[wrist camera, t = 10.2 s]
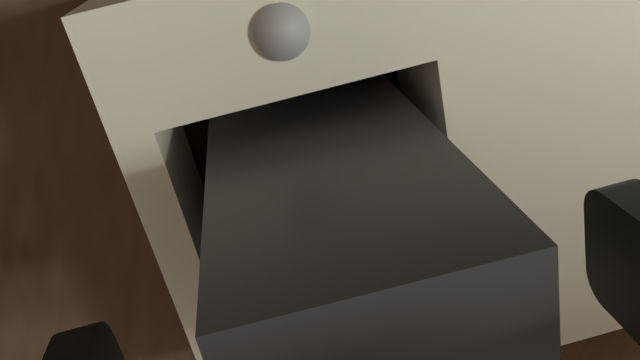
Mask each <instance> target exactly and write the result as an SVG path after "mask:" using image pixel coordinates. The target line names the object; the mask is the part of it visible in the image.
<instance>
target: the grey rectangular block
mask: <svg viewBox="0 0 640 360" xmlns="http://www.w3.org/2000/svg"><path fill="white" fill-rule="evenodd" d="M195 339H196V342H197V345H198V347H199V350H200V353H201V356H202V359H203V360H561V340H560V304H559V267H558V245H557V244H556V243H555V242H554V241H553V240H552V239H551V238H550V237H549V236H548V235H546V234H545V233H544V232H543V231H542V230H541V229H540V228H539V227H538V226H537V225H536V224H535V223H534V222H533V221H532V220H531V219H530V218H529V217H528V216H527V215H526V214H525V213H524V212H523V211H522V210H521V209H520V208H519V207H518V206H517V205H516V204H515V203H514V202H513V201H512V200H511V199H510V198H509V197H508V196H507V195H506V194H504V193H503V192H502V191H501V190H500V189H499V188H498V187H497V186H496V185H495V184H494V183H493V182H492V181H491V180H490V179H489V178H488V177H487V176H486V175H485V174H484V173H483V172H482V171H481V170H480V169H479V168H478V167H477V166H476V165H475V164H474V163H473V162H472V161H471V160H470V159H469V158H468V157H467V156H466V155H465V154H463V153H462V152H461V151H460V150H459V149H458V148H457V147H456V146H455V145H454V144H453V143H452V142H451V141H450V140H449V139H448V138H447V137H446V136H445V135H444V134H443V133H442V132H441V131H440V130H439V129H438V128H437V127H436V126H435V125H434V124H433V123H432V122H431V121H430V120H429V119H428V118H427V117H426V116H425V115H424V114H423V113H421V112H420V111H419V110H418V109H417V108H416V107H415V106H414V105H413V104H412V103H411V102H410V101H409V100H408V99H407V98H406V97H405V96H404V95H403V94H402V93H401V92H400V91H399V90H398V89H397V88H396V87H395V86H394V85H393V84H392V83H391V82H390V81H389V80H388V79H387V78H386V77H385V76H384V75H383V74H381V75H377V76H373V77H369V78H365V79H361V80H358V81H354V82H350V83H346V84H342V85H338V86H334V87H330V88H326V89H322V90H319V91H315V92H311V93H307V94H303V95H299V96H295V97H291V98H287V99H283V100H279V101H276V102H272V103H268V104H264V105H260V106H256V107H252V108H248V109H244V110H240V111H237V112H233V113H229V114H225V115H221V116H217V117H213V118H209V127H208V143H207V159H206V174H205V190H204V206H203V221H202V237H201V253H200V269H199V284H198V300H197V316H196V331H195Z"/></svg>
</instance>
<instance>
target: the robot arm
mask: <svg viewBox="0 0 640 360" xmlns="http://www.w3.org/2000/svg"><path fill="white" fill-rule="evenodd" d="M584 231H585V259H586V273H587V278H588V282H589V284H590V287H591V289H592V292H593V294H594V296H595V297H596V299H597V300H598V302H599V303H600V304H601V306H602V307H603V308H604V309H605V310H606V311H607V312H608V313H609V314H610V315H611V316H612V317H613V318H614V319H615V320H616V321H617V322H618V323H619V324H620V325H621V326H622V327H623V328H624V329H625V330H626V331H627V333H628V334H629V335H630V336H631V337H632V338H633V339H634V340H635V341H636V342H637V343H638V344H639V345H640V180H639V179H630V180H626V181H623V182H619V183H615V184H612V185H608V186H604V187H600V188H597V189H593V190H590V191H588V192H587V193H586V195H585V198H584ZM42 360H125V358H124V356H123V353H122V351H121V349H120V347H119V345H118V343H117V341H116V338H115V336H114V334H113V332H112V330H111V329H110V327H109V326H108V325H107V324H106V323H105V322H97V323H94V324H90V325H86V326H83V327H79V328H75V329H72V330H68V331H64V332H60V333H57V334H55V335H53V336H52V338H51V340H50V342H49V344H48V347H47V349H46V351H45V354H44V356H43V359H42Z"/></svg>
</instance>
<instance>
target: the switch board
mask: <svg viewBox="0 0 640 360" xmlns="http://www.w3.org/2000/svg"><path fill="white" fill-rule="evenodd" d="M61 20H62V23H63V25H64V28H65V30H66V33H67V35H68V38H69V40H70V43H71V45H72V48H73V50H74V53H75V55H76V58H77V60H78V63H79V65H80V68H81V70H82V73H83V76H84V78H85V81H86V83H87V86H88V88H89V91H90V93H91V96H92V98H93V101H94V103H95V106H96V108H97V111H98V113H99V116H100V118H101V121H102V123H103V126H104V129H105V131H106V134H107V136H108V139H109V141H110V144H111V146H112V149H113V151H114V154H115V156H116V159H117V161H118V164H119V166H120V169H121V171H122V174H123V177H124V179H125V182H126V184H127V187H128V189H129V192H130V194H131V197H132V199H133V202H134V204H135V207H136V209H137V212H138V214H139V217H140V219H141V222H142V224H143V227H144V230H145V232H146V235H147V237H148V240H149V242H150V245H151V247H152V250H153V252H154V255H155V257H156V260H157V262H158V265H159V267H160V270H161V272H162V275H163V277H164V280H165V283H166V285H167V288H168V290H169V293H170V295H171V298H172V300H173V303H174V305H175V308H176V310H177V313H178V315H179V318H180V320H181V323H182V325H183V328H184V330H185V333H186V336H187V338H188V341H189V343H190V346H191V348H192V351H193V353H194V356H195V358H196V360H203V359H202V356H201V353H200V350H199V347H198V345H197V342H196V339H195V331H196V316H197V300H198V284H199V269H200V253H201V237H202V221H203V206H204V187H203V184H202V181H201V178H200V175H199V172H198V169H197V166H196V163H195V160H194V158H193V155H192V152H191V149H190V146H189V143H188V140H187V137H186V134H185V131H184V128H183V125H186V124H190V123H194V122H198V121H201V120H205V119H209V118H213V117H217V116H221V115H225V114H229V113H233V112H237V111H240V110H244V109H248V108H252V107H256V106H260V105H264V104H268V103H272V102H276V101H279V100H283V99H287V98H291V97H295V96H299V95H303V94H307V93H311V92H315V91H319V90H322V89H326V88H330V87H334V86H338V85H342V84H346V83H350V82H354V81H358V80H361V79H365V78H369V77H373V76H377V75H381V74H385V73H389V72H393V71H397V77H398V83H399V89H400V92H401V93H402V94H403V95H404V96H405V97H406V98H407V99H408V100H409V101H410V102H411V103H412V104H413V105H414V106H415V107H416V108H417V109H418V110H419V111H420V112H421V113H423V114H424V115H425V116H426V117H427V118H428V119H429V120H430V121H431V122H432V123H433V124H434V125H435V126H436V127H437V128H438V129H439V130H440V131H441V132H442V133H443V134H444V135H445V136H446V137H447V138H448V139H449V140H450V141H451V142H452V143H453V144H454V145H455V146H456V147H457V148H458V149H459V150H460V151H461V152H462V153H463V154H465V155H466V156H467V157H468V158H469V159H470V160H471V161H472V162H473V163H474V164H475V165H476V166H477V167H478V168H479V169H480V170H481V171H482V172H483V173H484V174H485V175H486V176H487V177H488V178H489V179H490V180H491V181H492V182H493V183H494V184H495V185H496V186H497V187H498V188H499V189H500V190H501V191H502V192H503V193H504V194H506V195H507V196H508V197H509V198H510V199H511V200H512V201H513V202H514V203H515V204H516V205H517V206H518V207H519V208H520V209H521V210H522V211H523V212H524V213H525V214H526V215H527V216H528V217H529V218H530V219H531V220H532V221H533V222H534V223H535V224H536V225H537V226H538V227H539V228H540V229H541V230H542V231H543V232H544V233H545V234H546V235H548V236H549V237H550V238H551V239H552V240H553V241H554V242H555V243H556V244H557V245H558V267H559V304H560V340H561V346H562V345H566V344H569V343H573V342H576V341H580V340H583V339H587V338H590V337H594V336H597V335H601V334H604V333H608V332H612V331H615V330H619V329H622V328H623V327H622V326H621V325H620V324H619V323H618V322H617V321H616V320H615V319H614V318H613V317H612V316H611V315H610V314H609V313H608V312H607V311H606V310H605V309H604V308H603V307H602V306H601V304H600V303H599V302H598V300H597V299H596V297H595V296H594V294H593V292H592V289H591V287H590V284H589V282H588V278H587V273H586V259H585V231H584V198H585V195H586V193H587V192H588V191H590V190H593V189H597V188H600V187H604V186H608V185H612V184H615V183H619V182H623V181H626V180H630V179H639V180H640V0H88V1H86V2H85V3H83V4H81V5H80V6H78V7H77V8H75V9H73V10H72V11H70V12H69V13H67V14H65V15H64V16H62V17H61Z"/></svg>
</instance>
